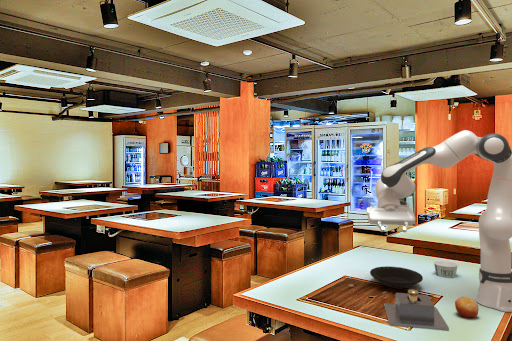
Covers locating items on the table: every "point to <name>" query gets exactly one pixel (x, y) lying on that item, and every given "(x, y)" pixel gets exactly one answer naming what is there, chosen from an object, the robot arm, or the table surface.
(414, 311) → the block
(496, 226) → the robot arm
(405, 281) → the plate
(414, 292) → the pin
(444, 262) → the food container
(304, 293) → the table surface
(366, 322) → the table surface
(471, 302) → the fruit
